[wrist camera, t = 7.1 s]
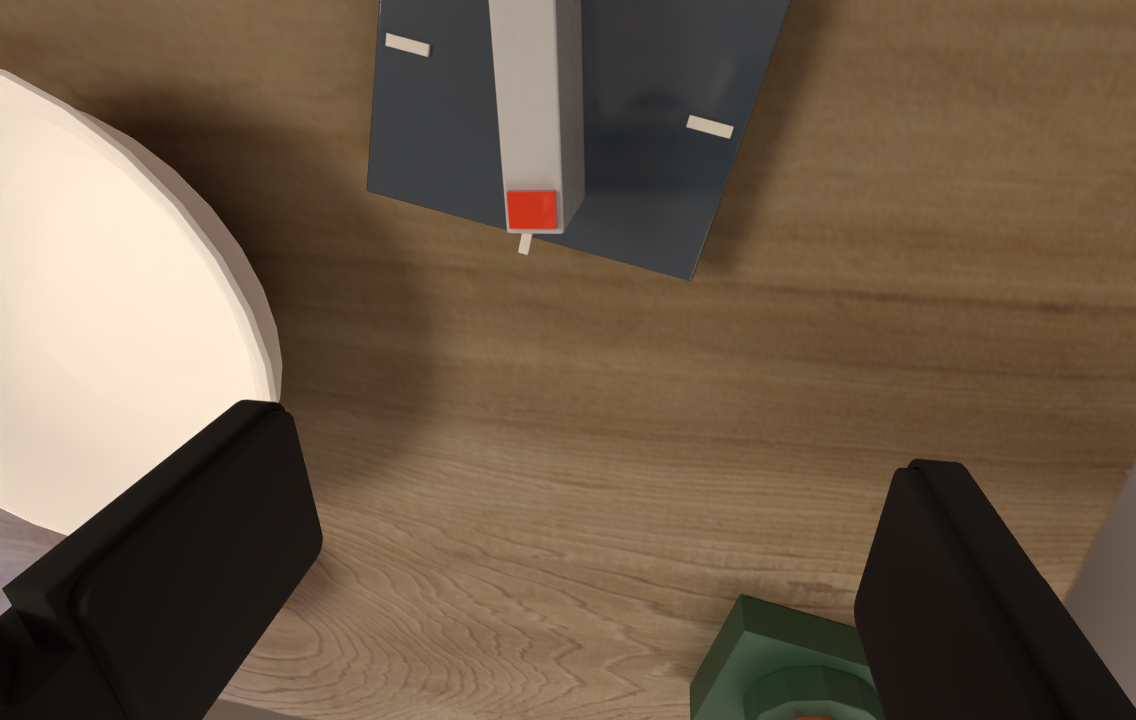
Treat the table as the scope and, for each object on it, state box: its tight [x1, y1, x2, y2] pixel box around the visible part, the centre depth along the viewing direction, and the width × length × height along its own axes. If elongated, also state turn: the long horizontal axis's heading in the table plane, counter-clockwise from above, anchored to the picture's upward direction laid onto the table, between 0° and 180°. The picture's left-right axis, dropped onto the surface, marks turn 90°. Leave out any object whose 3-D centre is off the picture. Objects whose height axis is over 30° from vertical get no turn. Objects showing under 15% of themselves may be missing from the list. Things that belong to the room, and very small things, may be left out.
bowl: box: [0, 69, 282, 536], centre depth 25 cm, size 20×20×6 cm
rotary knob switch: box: [367, 0, 792, 281], centre depth 20 cm, size 12×11×3 cm
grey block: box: [488, 0, 585, 234], centre depth 17 cm, size 7×2×5 cm, turn 2°
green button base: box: [690, 595, 885, 720], centre depth 31 cm, size 10×8×4 cm
